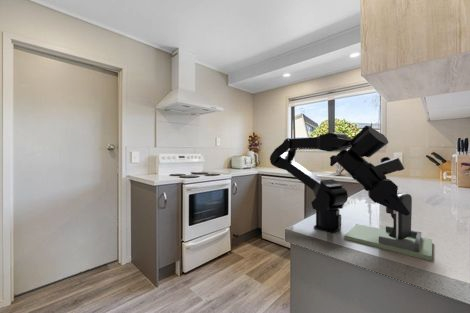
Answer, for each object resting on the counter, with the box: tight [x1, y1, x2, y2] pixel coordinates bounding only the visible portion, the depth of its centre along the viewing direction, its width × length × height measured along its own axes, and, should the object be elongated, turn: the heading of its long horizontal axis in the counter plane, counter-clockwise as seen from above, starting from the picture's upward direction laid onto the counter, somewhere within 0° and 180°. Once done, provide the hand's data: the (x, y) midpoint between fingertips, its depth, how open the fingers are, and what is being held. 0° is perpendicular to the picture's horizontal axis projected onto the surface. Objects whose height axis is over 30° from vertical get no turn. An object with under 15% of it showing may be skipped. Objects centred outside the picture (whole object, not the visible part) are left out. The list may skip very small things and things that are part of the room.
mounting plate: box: [343, 223, 433, 262], centre depth 58 cm, size 18×13×2 cm
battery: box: [385, 192, 413, 240], centre depth 57 cm, size 7×4×11 cm, turn 123°
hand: (404, 210), depth 56 cm, fingers closed on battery, 7 cm apart
